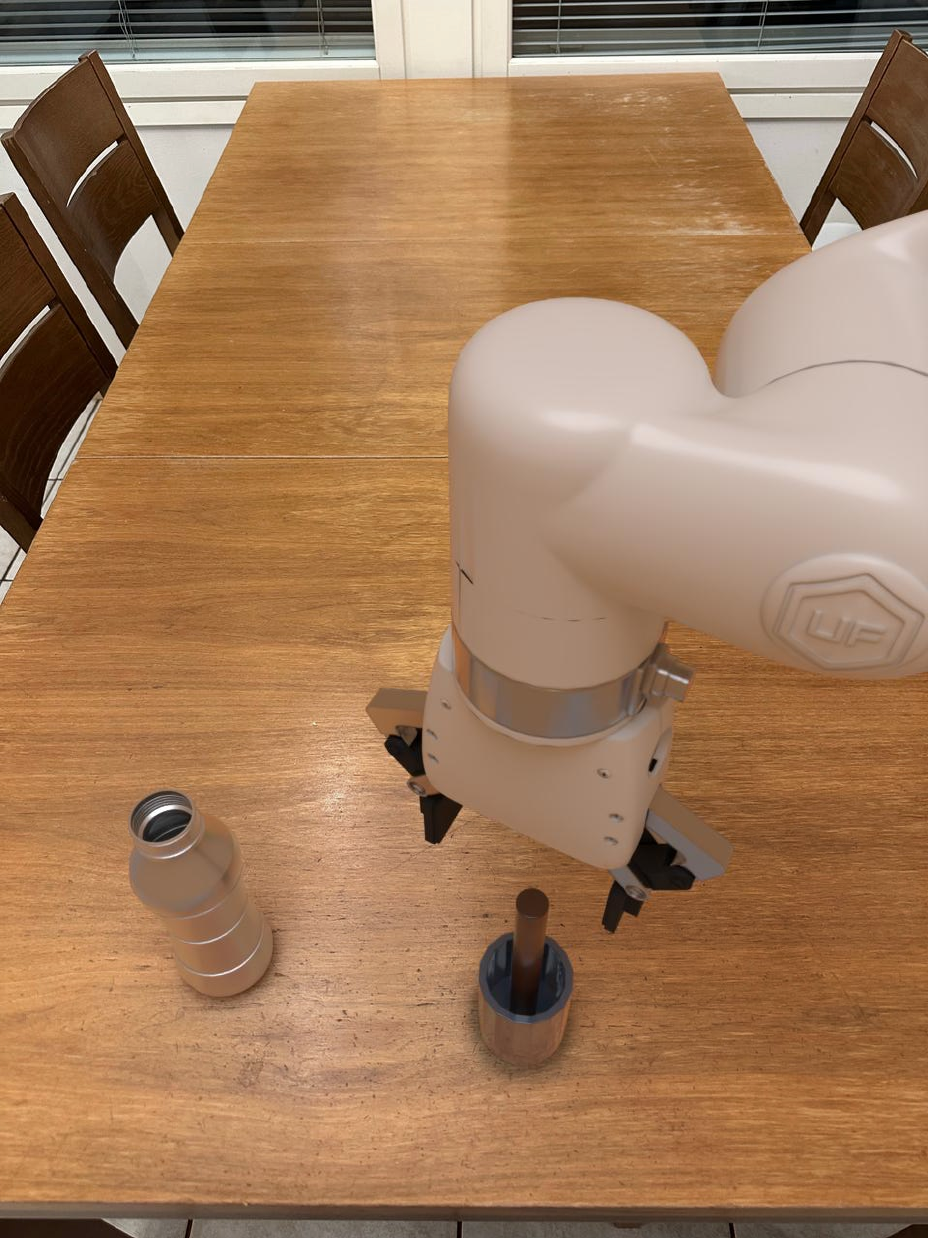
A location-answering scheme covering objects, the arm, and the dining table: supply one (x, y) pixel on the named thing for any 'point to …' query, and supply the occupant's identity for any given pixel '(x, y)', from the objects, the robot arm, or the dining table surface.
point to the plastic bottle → (198, 893)
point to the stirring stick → (528, 950)
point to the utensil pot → (520, 1033)
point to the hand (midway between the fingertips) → (529, 862)
